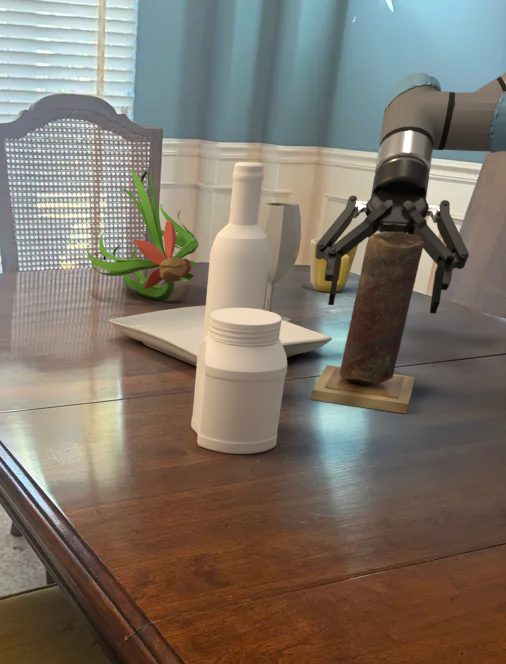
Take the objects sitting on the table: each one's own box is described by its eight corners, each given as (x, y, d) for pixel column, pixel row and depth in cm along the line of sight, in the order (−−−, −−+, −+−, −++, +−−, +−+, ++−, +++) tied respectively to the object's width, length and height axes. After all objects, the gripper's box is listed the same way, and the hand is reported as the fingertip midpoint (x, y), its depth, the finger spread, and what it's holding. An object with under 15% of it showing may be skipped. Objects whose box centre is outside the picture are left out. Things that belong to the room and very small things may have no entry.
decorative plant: (136, 341, 154) (79, 303, 177) (244, 306, 160) (175, 273, 183) (117, 205, 138) (58, 182, 161) (238, 171, 144) (164, 154, 167)
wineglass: (234, 322, 147) (246, 203, 137) (262, 315, 152) (276, 200, 142) (270, 331, 142) (286, 208, 131) (299, 324, 147) (316, 205, 136)
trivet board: (413, 386, 116) (415, 375, 115) (406, 414, 105) (409, 402, 104) (325, 374, 120) (327, 363, 119) (310, 399, 109) (312, 388, 109)
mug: (301, 284, 179) (308, 236, 174) (346, 286, 178) (354, 238, 173) (307, 297, 168) (315, 246, 162) (355, 299, 167) (364, 248, 161)
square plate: (207, 382, 115) (209, 356, 113) (105, 339, 135) (106, 316, 133) (331, 356, 128) (335, 333, 126) (222, 320, 148) (224, 300, 146)
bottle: (224, 408, 106) (249, 166, 91) (186, 392, 111) (204, 161, 96) (265, 397, 110) (295, 164, 95) (226, 382, 115) (249, 160, 100)
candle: (399, 380, 113) (431, 234, 103) (384, 393, 107) (416, 241, 97) (348, 370, 116) (374, 228, 106) (331, 382, 111) (357, 235, 101)
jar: (188, 419, 102) (197, 303, 94) (260, 420, 102) (275, 304, 95) (201, 454, 92) (213, 328, 84) (280, 454, 92) (299, 329, 85)
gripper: (487, 198, 112) (472, 326, 107) (311, 189, 118) (289, 311, 113) (502, 159, 105) (487, 295, 100) (315, 153, 111) (291, 280, 106)
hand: (382, 303), depth 106 cm, fingers open, 13 cm apart
